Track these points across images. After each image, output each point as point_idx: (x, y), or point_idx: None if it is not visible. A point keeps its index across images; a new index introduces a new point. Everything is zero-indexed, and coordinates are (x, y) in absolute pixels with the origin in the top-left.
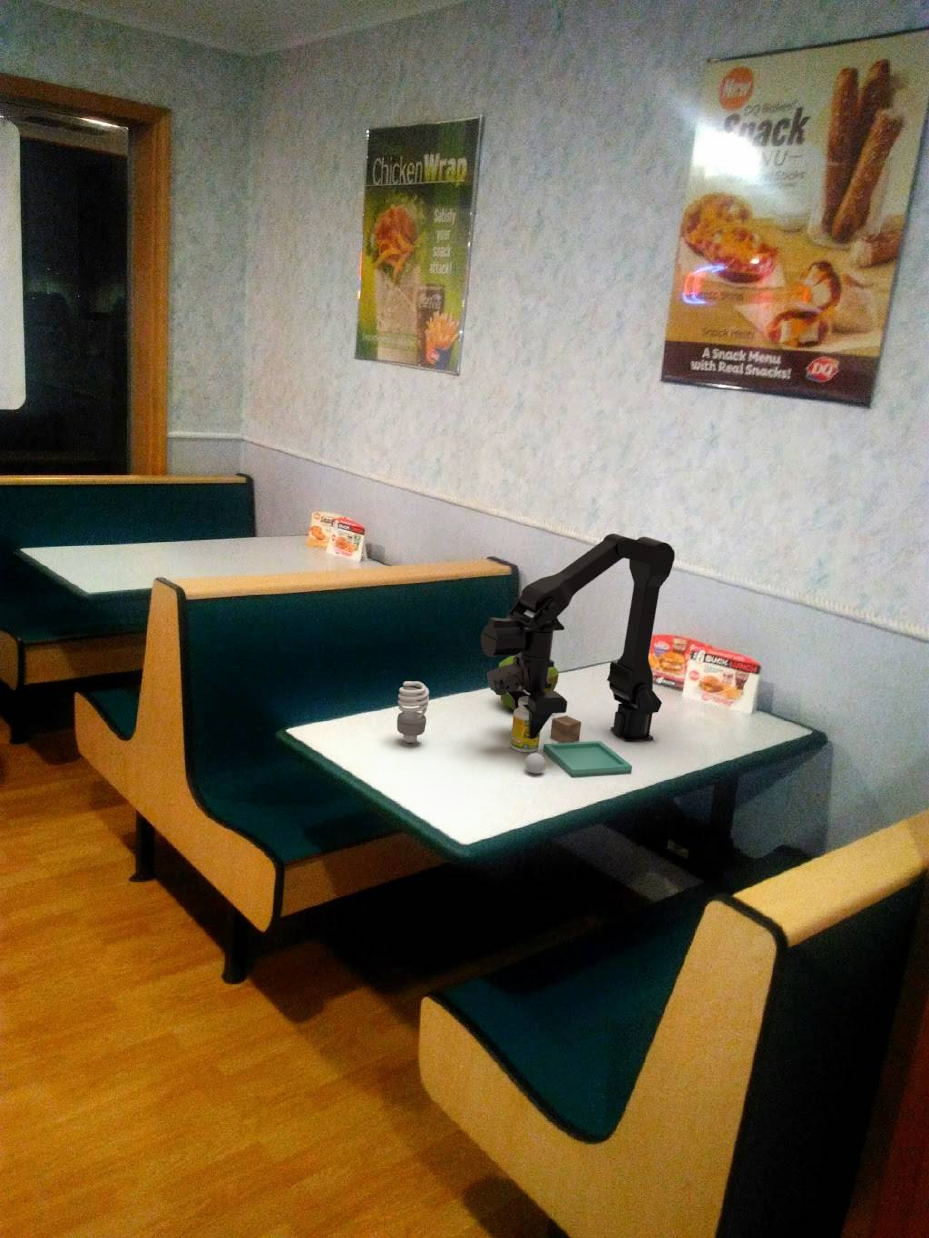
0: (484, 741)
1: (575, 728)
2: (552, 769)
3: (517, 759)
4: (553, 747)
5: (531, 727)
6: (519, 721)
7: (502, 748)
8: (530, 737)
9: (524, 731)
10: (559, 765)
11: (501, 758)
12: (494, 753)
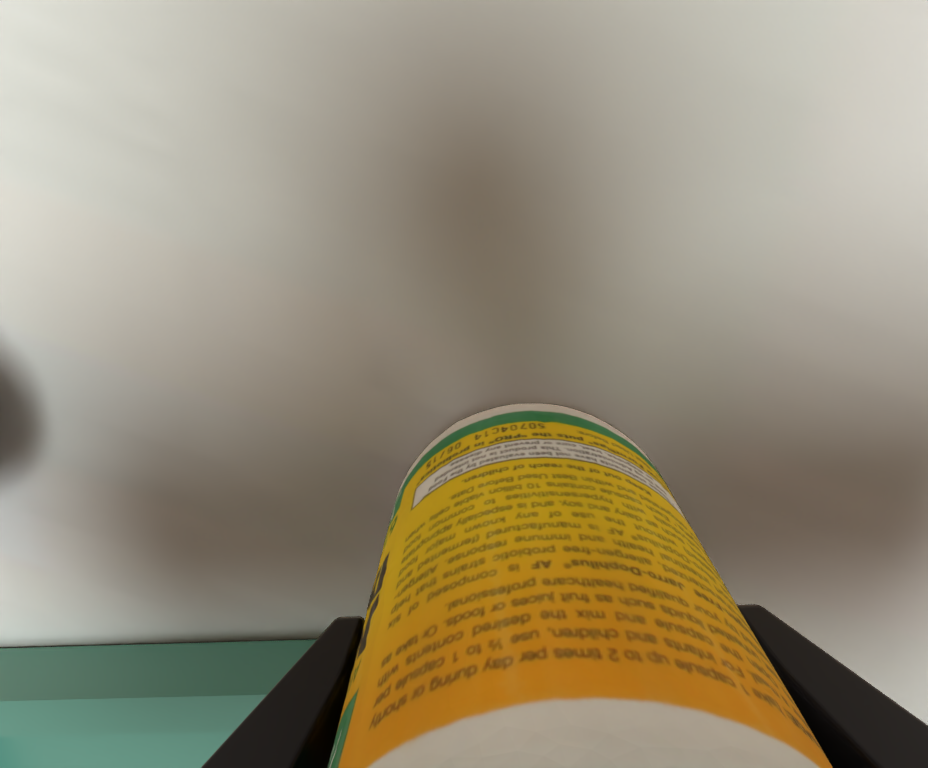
0: (775, 158)
1: None
2: (52, 574)
3: (248, 359)
4: None
5: (213, 760)
6: (417, 682)
7: (539, 304)
8: (330, 627)
9: (370, 620)
10: (125, 647)
11: (267, 193)
12: (409, 158)
